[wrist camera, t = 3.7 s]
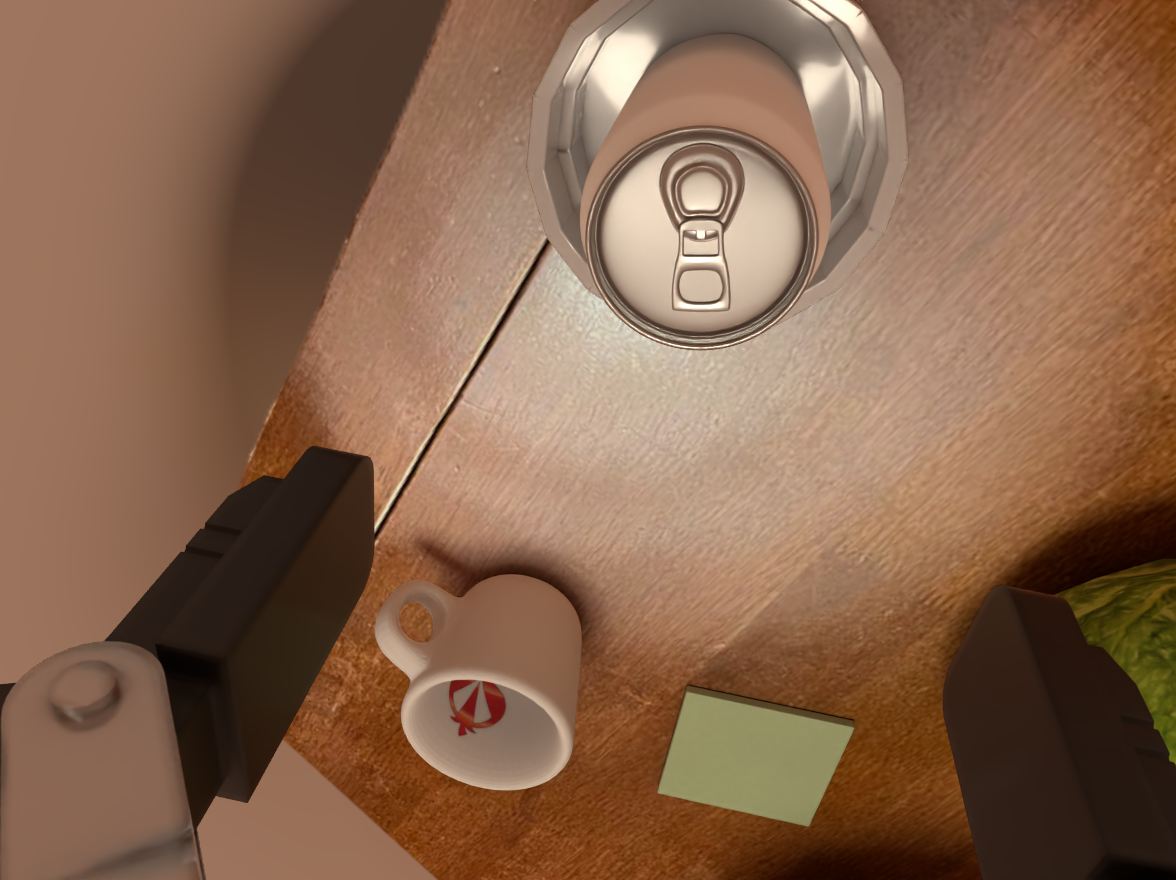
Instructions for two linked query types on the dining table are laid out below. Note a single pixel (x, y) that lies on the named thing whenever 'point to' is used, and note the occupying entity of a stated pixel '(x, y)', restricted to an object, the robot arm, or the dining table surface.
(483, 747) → the cup
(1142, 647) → the lettuce
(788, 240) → the can
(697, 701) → the mat
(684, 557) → the dining table surface
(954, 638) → the dining table surface
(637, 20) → the white round dish
